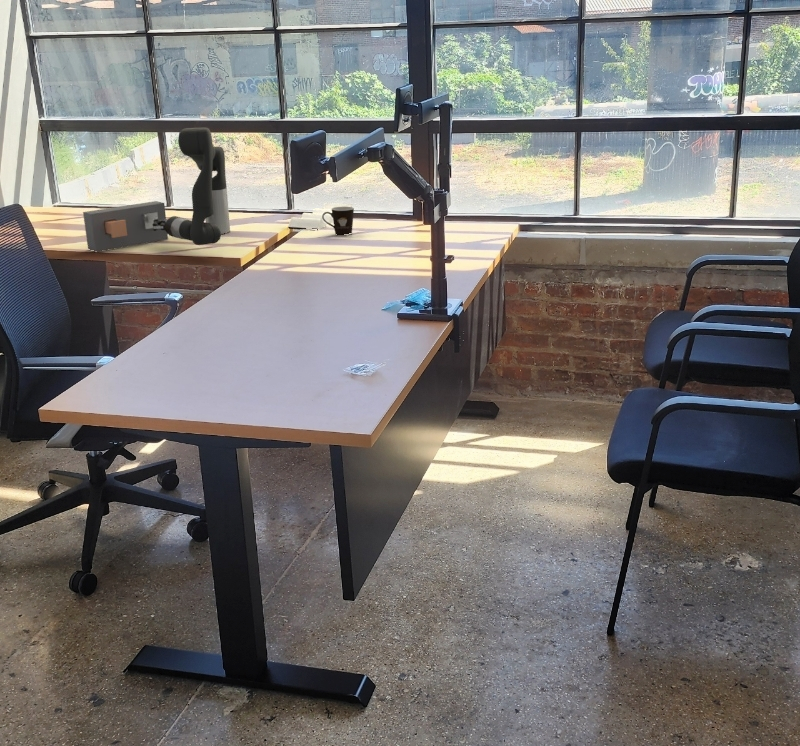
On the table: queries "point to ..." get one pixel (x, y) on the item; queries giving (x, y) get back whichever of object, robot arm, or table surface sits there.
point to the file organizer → (315, 217)
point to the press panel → (134, 226)
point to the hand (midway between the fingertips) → (155, 221)
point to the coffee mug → (341, 219)
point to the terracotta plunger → (115, 228)
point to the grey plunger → (149, 219)
